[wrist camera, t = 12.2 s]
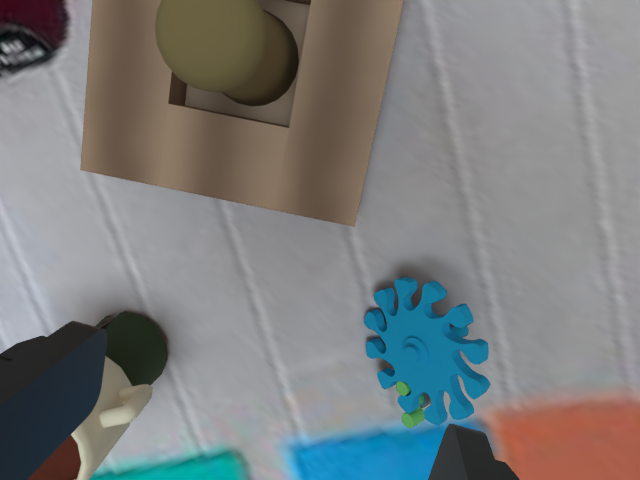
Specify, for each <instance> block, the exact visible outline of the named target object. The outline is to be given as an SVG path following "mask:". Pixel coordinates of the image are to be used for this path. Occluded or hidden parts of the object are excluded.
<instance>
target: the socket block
mask: <svg viewBox="0 0 640 480" xmlns="http://www.w3.org/2000/svg"><path fill="white" fill-rule="evenodd" d="M257 1H258V2H259V4H260V6H261V8H262V10H265V11H268V12H270V13H272V14H273V15H275V16H276V17H278V18H279V19H281V20H282V21H283V22H284V23H285V24H286V26H287V27H288V28H289V29H290V31H291V32H292V34H293V36H294V39H295V41H296V44H297V47H298V57H299V64H298V69H297V73H296V78H295V79H294V81H293V83H292V85H291V86H290V88H289V90H288V91H287V92H286V93H285V94H283V95H282V96H281V97H280V98H279V99H278V100H276V101H274V102H271V103H269V104H267V105H263V106H247V105H243V104H239V103H236V102H235V101H233V100H232V99H230V98H228V97H227V96H225V95H224V94H223V93H222V92H208V91H204V90H200V89H196V88H193V87H191V86H190V85H188V84H186V83H185V82H183V81H182V80H180V79H179V78H178V77H177V76H176V75H175V74H174V73H173V72H172V70H171V69H170V68H169V67H168V66H167V64H166V63H165V62H164V60H163V57H162V55H161V53H160V51H159V49H158V46H157V41H156V34H155V21H156V14H157V9H158V7H159V5H160V3H161V0H93V1H92V15H91V29H90V43H89V57H88V71H87V85H86V99H85V113H84V127H83V141H82V155H81V169H80V170H83V171H88V172H92V173H97V174H102V175H107V176H112V177H117V178H121V179H126V180H131V181H136V182H141V183H146V184H150V185H155V186H160V187H165V188H170V189H175V190H179V191H184V192H189V193H194V194H199V195H204V196H208V197H213V198H218V199H223V200H228V201H233V202H237V203H242V204H247V205H252V206H257V207H262V208H266V209H271V210H276V211H281V212H286V213H291V214H295V215H300V216H305V217H310V218H315V219H320V220H324V221H329V222H334V223H339V224H344V225H349V226H353V227H354V226H355V222H356V217H357V212H358V208H359V203H360V199H361V194H362V190H363V185H364V180H365V176H366V171H367V167H368V162H369V158H370V153H371V148H372V144H373V139H374V135H375V130H376V126H377V121H378V116H379V112H380V107H381V103H382V98H383V94H384V89H385V84H386V80H387V75H388V71H389V66H390V62H391V57H392V52H393V48H394V43H395V39H396V34H397V30H398V25H399V20H400V16H401V11H402V7H403V2H404V0H257Z"/></svg>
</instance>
